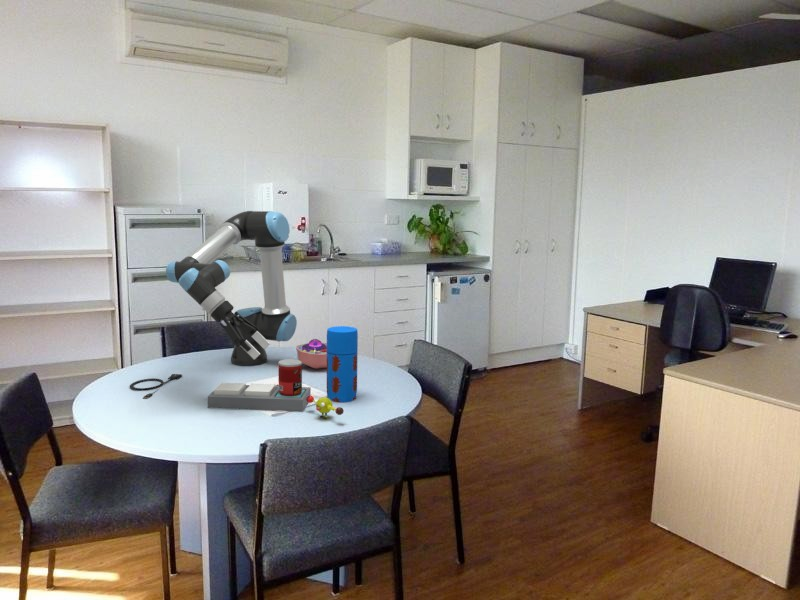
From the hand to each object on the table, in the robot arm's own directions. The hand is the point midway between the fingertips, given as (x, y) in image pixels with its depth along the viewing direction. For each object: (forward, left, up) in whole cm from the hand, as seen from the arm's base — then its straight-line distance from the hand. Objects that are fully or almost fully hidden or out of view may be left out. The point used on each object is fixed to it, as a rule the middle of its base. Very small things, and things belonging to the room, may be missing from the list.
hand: (262, 351), depth 216 cm
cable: (-14, -47, -19) cm, 52 cm away
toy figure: (+12, +23, -18) cm, 32 cm away
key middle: (0, -1, -16) cm, 16 cm away
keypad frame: (0, -1, -18) cm, 18 cm away
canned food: (0, +9, -14) cm, 17 cm away
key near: (0, -12, -16) cm, 20 cm away
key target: (0, +9, -18) cm, 20 cm away
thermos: (-9, +26, -18) cm, 33 cm away
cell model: (-48, +10, -19) cm, 52 cm away
